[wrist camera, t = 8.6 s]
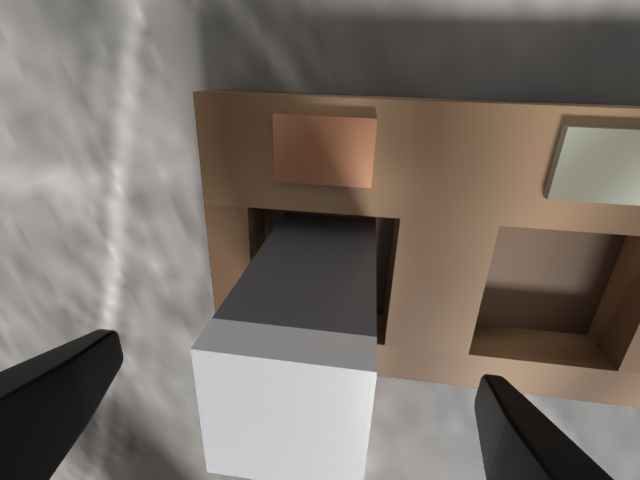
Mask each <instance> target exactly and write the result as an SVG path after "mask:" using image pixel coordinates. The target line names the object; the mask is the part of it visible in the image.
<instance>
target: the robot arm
mask: <svg viewBox="0 0 640 480" xmlns="http://www.w3.org/2000/svg"><path fill="white" fill-rule="evenodd" d="M122 362H123V352H122V348H121V344H120V339H119V335H118V333H117V332H116V331H114V330H106V329H99V330H96V331H94V332H91V333H89V334H87V335H84V336H82V337H80V338H78V339H75V340H73V341H71V342H68V343H66V344H64V345H61V346H59V347H57V348H54V349H52V350H50V351H47V352H45V353H43V354H40V355H38V356H36V357H34V358H31V359H29V360H27V361H24V362H22V363H20V364H17V365H15V366H13V367H10V368H8V369H6V370H3V371H1V372H0V480H49V479H50V478H51V476H52V475H53V473H54V472H55V471H56V469H57V468H58V466H59V465H60V463H61V462H62V461H63V459H64V458H65V456H66V455H67V453H68V452H69V450H70V449H71V448H72V446H73V445H74V443H75V442H76V440H77V439H78V437H79V436H80V435H81V433H82V432H83V430H84V429H85V427H86V426H87V424H88V423H89V421H90V419H91V418H92V416H93V414H94V413H95V411H96V409H97V408H98V406H99V404H100V402H101V400H102V399H103V397H104V395H105V393H106V392H107V390H108V388H109V386H110V385H111V383H112V381H113V379H114V378H115V376H116V374H117V372H118V371H119V369H120V367H121V365H122ZM475 415H476V421H477V427H478V433H479V439H480V445H481V451H482V457H483V463H484V469H485V474H486V479H487V480H614V479H613V478H612V477H610V476H609V475H608V474H607V473H606V472H605V471H604V470H603V469H602V468H601V467H600V466H599V465H598V464H597V463H595V462H594V461H593V460H592V459H591V458H590V457H589V456H588V455H587V454H586V453H585V452H584V451H583V450H581V449H580V448H579V447H578V446H577V445H576V444H575V443H574V442H573V441H572V440H571V439H570V438H569V437H567V436H566V435H565V434H564V433H563V432H562V431H561V430H560V429H559V428H558V427H557V426H556V425H555V424H553V423H552V422H551V421H550V420H549V419H548V418H547V417H546V416H545V415H544V414H543V413H542V412H541V411H540V410H538V409H537V408H536V407H535V406H534V405H533V404H532V403H531V402H530V401H529V400H528V399H527V398H526V397H524V396H523V395H522V394H521V393H520V392H519V391H518V390H517V389H516V388H515V387H514V386H513V385H512V384H510V383H509V382H508V381H507V380H506V379H505V378H504V377H502V376H499V375H491V374H484V375H483V376H482V377H481V380H480V384H479V387H478V391H477V395H476V398H475Z"/></svg>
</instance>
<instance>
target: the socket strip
mask: <svg viewBox="0 0 640 480" xmlns="http://www.w3.org/2000/svg"><path fill="white" fill-rule="evenodd" d="M193 97H194V107H195V117H196V127H197V137H198V147H199V157H200V167H201V177H202V186H203V196H204V206H205V216H206V226H207V236H208V246H209V256H210V266H211V276H212V286H213V296H214V305H215V313H216V312H217V310H218V309H219V307H220V306H221V304H222V303H223V301H224V300H225V299H226V297H227V296H228V294H229V293H230V291H231V290H232V288H233V287H234V285H235V284H236V283H237V281H238V280H239V278H240V277H241V275H242V274H243V272H244V271H245V269H246V268H247V267H248V265H249V264H250V262H251V261H252V259H253V258H254V256H255V255H256V253H257V252H258V251H259V249H260V248H261V246H262V245H263V243H264V242H265V240H266V239H267V238H268V236H269V235H270V233H271V232H272V230H273V229H274V227H275V226H276V224H277V223H278V222H279V220H280V219H281V217H282V216H283V214H284V213H285V212H287V213H300V214H312V215H325V216H338V217H350V218H363V219H376V305H377V376H383V377H391V378H399V379H407V380H415V381H424V382H432V383H440V384H448V385H456V386H465V387H473V388H478V387H479V384H480V380H481V377H482V376H483V375H484V374H491V375H499V376H502V377H504V378H505V379H506V380H507V381H508V382H509V383H510V384H512V385H513V386H514V387H515V388H516V389H517V390H518V391H519V392H520V393H522V394H530V395H539V396H547V397H555V398H563V399H571V400H580V401H588V402H596V403H604V404H613V405H621V406H629V407H637V408H640V106H639V105H612V104H584V103H557V102H530V101H502V100H475V99H448V98H420V97H393V96H366V95H338V94H311V93H284V92H257V91H229V90H221V91H203V92H193Z"/></svg>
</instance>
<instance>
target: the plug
mask: <svg viewBox="0 0 640 480" xmlns="http://www.w3.org/2000/svg"><path fill="white" fill-rule="evenodd" d="M191 356H192V363H193V371H194V378H195V386H196V393H197V401H198V408H199V416H200V423H201V431H202V438H203V445H204V453H205V460H206V468H207V472H210V473H217V474H223V475H229V476H235V477H241V478H247V479H254V480H364V473H365V465H366V457H367V449H368V441H369V433H370V425H371V417H372V409H373V401H374V393H375V385H376V377H377V305H376V219H363V218H350V217H338V216H325V215H312V214H300V213H287V212H285V213H284V214H283V216H282V217H281V219H280V220H279V222H278V223H277V224H276V226H275V227H274V229H273V230H272V232H271V233H270V235H269V236H268V238H267V239H266V240H265V242H264V243H263V245H262V246H261V248H260V249H259V251H258V252H257V253H256V255H255V256H254V258H253V259H252V261H251V262H250V264H249V265H248V267H247V268H246V269H245V271H244V272H243V274H242V275H241V277H240V278H239V280H238V281H237V283H236V284H235V285H234V287H233V288H232V290H231V291H230V293H229V294H228V296H227V297H226V299H225V300H224V301H223V303H222V304H221V306H220V307H219V309H218V310H217V312H216V313H215V314H214V316H213V317H212V319H211V320H210V322H209V323H208V325H207V326H206V328H205V329H204V330H203V332H202V333H201V335H200V336H199V338H198V339H197V341H196V342H195V344H194V345H193V346H192V348H191Z"/></svg>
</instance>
